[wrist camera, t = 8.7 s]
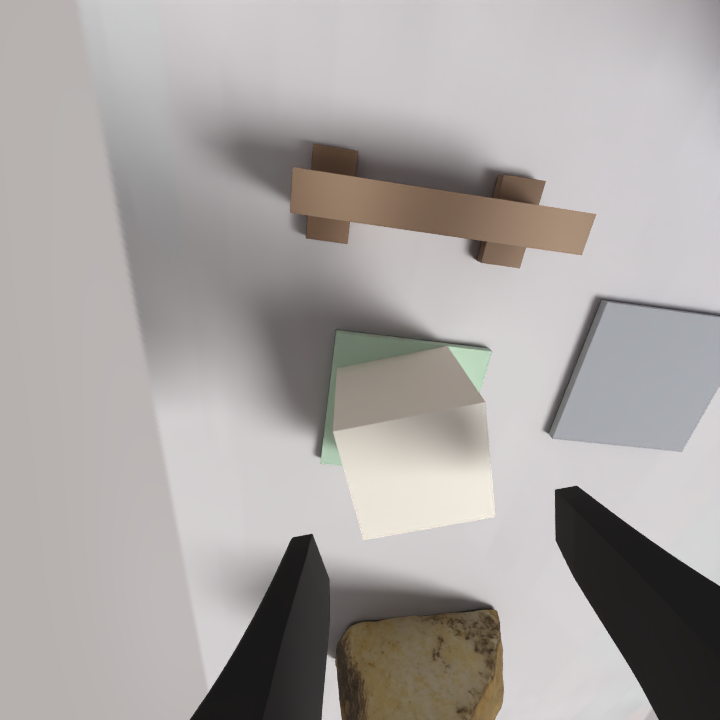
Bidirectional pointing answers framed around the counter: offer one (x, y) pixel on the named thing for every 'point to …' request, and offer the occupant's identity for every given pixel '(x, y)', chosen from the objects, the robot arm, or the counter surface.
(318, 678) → the robot arm
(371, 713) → the rock
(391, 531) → the lettered cube
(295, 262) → the counter surface
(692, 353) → the grey mat
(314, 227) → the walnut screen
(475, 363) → the green mat
